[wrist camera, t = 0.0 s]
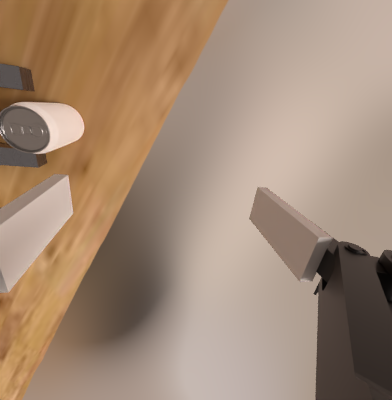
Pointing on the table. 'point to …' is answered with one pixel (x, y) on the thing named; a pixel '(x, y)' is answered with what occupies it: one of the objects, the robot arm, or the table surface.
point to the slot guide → (4, 152)
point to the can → (40, 126)
